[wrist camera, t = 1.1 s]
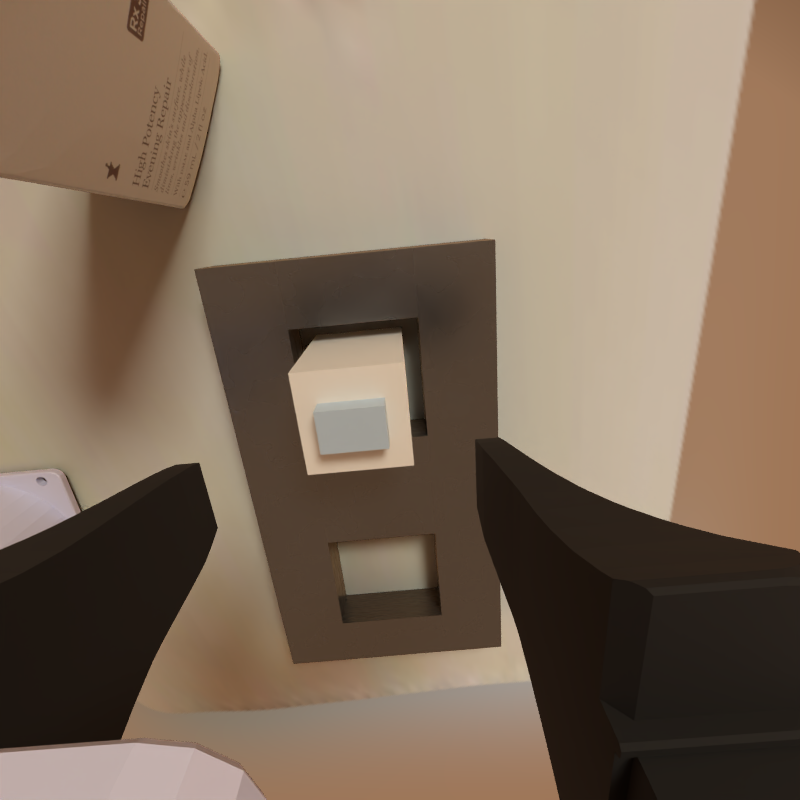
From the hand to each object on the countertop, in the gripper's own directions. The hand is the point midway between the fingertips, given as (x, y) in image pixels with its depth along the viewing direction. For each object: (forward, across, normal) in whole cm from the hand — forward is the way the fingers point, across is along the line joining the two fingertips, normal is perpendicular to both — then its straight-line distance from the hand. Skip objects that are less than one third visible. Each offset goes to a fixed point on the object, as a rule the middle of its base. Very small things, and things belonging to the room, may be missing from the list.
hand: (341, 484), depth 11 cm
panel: (+10, 0, +6) cm, 12 cm away
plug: (+10, 0, 0) cm, 10 cm away
